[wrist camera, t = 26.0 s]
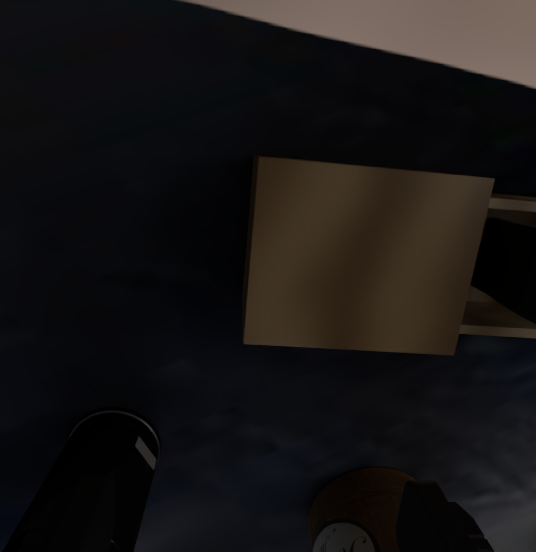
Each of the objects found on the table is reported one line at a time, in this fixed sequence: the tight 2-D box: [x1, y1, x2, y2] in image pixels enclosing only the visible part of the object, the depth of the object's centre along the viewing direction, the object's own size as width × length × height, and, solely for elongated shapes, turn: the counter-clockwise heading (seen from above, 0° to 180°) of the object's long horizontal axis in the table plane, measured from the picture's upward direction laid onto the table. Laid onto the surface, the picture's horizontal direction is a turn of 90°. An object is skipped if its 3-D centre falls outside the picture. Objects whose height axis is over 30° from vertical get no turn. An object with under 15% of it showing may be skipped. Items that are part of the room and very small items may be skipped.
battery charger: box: [471, 217, 536, 324], centre depth 35 cm, size 7×4×11 cm, turn 173°
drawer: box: [459, 193, 536, 338], centre depth 37 cm, size 22×13×8 cm, turn 85°
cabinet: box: [242, 155, 495, 355], centre depth 36 cm, size 17×14×10 cm
